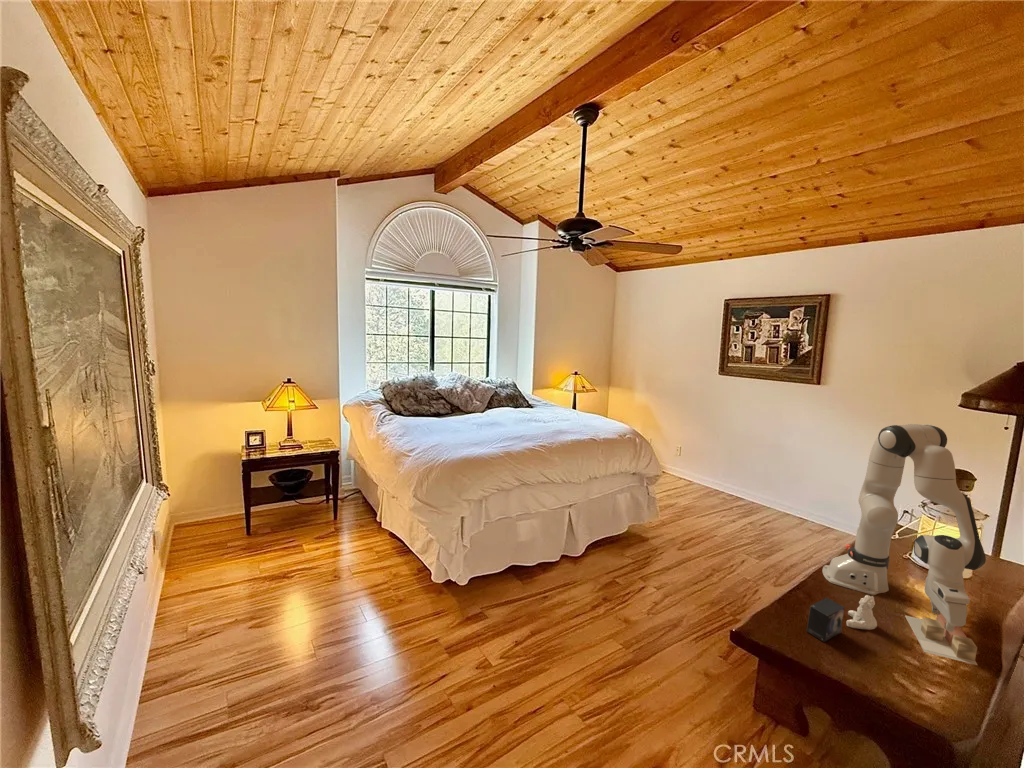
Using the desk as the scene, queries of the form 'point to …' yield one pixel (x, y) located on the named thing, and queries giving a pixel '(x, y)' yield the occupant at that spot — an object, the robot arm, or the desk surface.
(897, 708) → the desk surface
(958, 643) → the pillar
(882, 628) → the desk surface
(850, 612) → the seated beast figurine
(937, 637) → the pillar
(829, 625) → the small box
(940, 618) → the lintel
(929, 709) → the desk surface
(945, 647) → the blueprint mat
